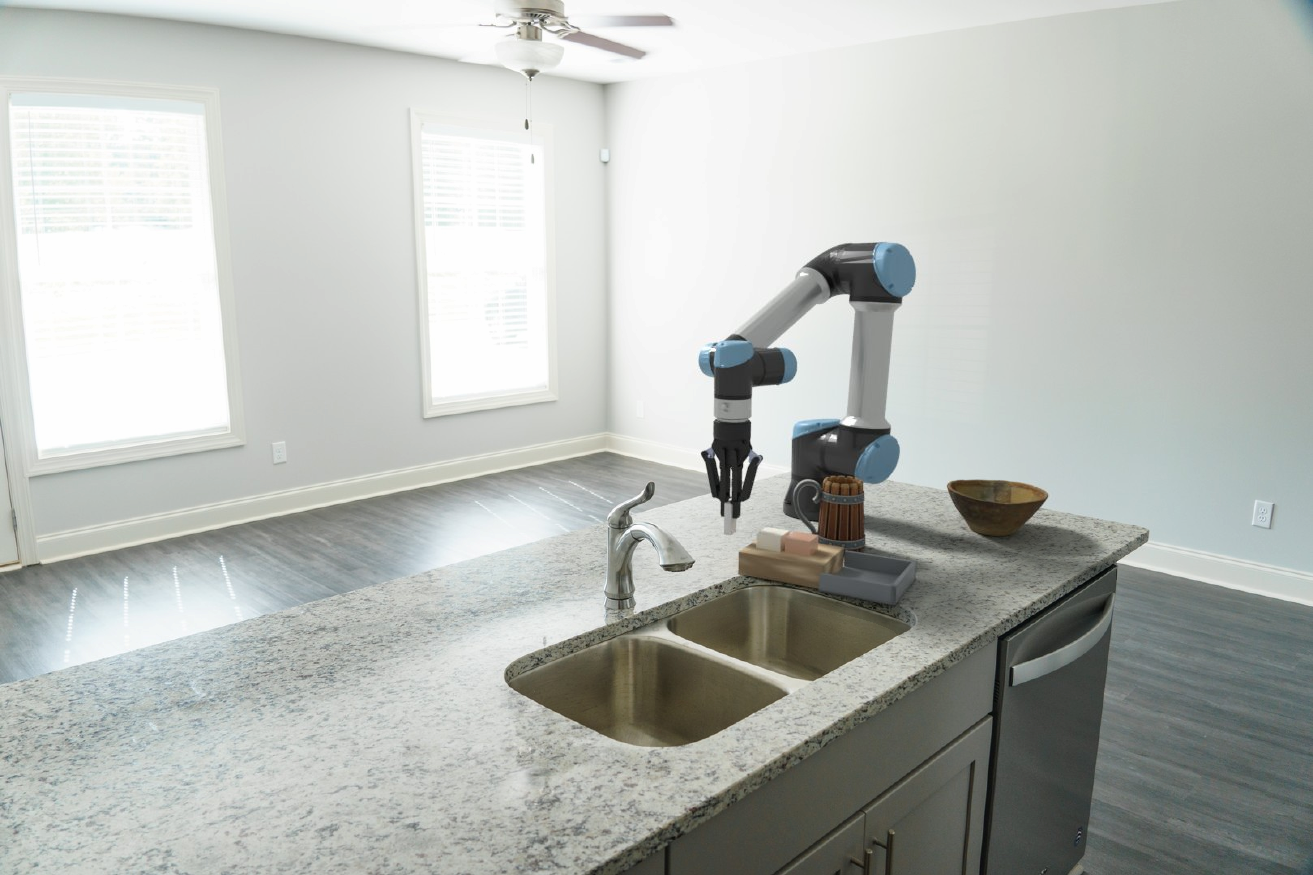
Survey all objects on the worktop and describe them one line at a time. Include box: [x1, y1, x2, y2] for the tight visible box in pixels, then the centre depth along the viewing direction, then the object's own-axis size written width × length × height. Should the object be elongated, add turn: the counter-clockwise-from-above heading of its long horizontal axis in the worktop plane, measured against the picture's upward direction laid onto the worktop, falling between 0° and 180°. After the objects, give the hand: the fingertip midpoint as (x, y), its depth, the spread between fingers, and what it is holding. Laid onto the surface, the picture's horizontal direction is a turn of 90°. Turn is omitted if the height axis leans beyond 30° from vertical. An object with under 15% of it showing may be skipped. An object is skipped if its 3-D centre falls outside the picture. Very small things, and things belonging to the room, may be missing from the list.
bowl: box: [946, 479, 1049, 537], centre depth 202 cm, size 22×23×10 cm
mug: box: [793, 476, 866, 556], centre depth 189 cm, size 16×11×15 cm
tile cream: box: [755, 526, 791, 552], centre depth 176 cm, size 5×5×3 cm
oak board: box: [737, 540, 845, 590], centre depth 175 cm, size 13×17×4 cm
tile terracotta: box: [785, 530, 818, 557], centre depth 173 cm, size 5×5×3 cm
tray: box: [818, 550, 918, 606], centre depth 168 cm, size 16×14×4 cm
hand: (730, 532), depth 181 cm, fingers closed
